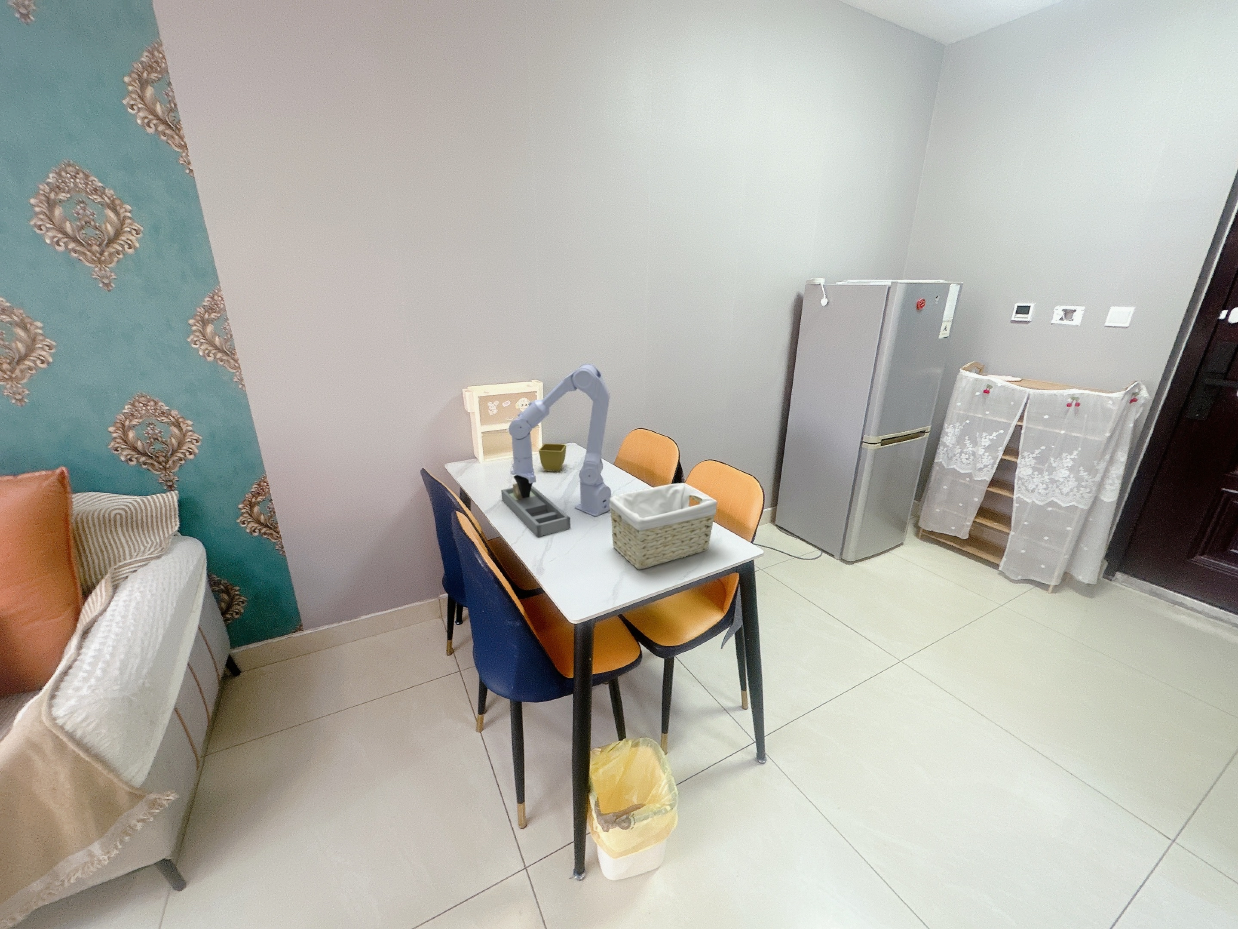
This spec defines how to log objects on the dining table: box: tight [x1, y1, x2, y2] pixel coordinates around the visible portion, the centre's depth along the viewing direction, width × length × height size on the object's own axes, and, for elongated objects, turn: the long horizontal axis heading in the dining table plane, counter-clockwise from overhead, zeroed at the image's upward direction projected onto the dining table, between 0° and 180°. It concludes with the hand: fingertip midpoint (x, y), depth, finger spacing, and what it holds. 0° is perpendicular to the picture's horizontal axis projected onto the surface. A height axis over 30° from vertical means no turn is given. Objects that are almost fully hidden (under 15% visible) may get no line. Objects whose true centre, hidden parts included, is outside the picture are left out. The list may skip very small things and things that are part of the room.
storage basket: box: [609, 482, 718, 570], centre depth 125 cm, size 24×16×15 cm
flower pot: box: [538, 443, 567, 473], centre depth 183 cm, size 9×9×9 cm
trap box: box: [500, 485, 571, 538], centre depth 147 cm, size 30×10×4 cm, turn 32°
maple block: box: [512, 482, 530, 500], centre depth 155 cm, size 4×4×4 cm
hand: (525, 497), depth 152 cm, fingers closed
